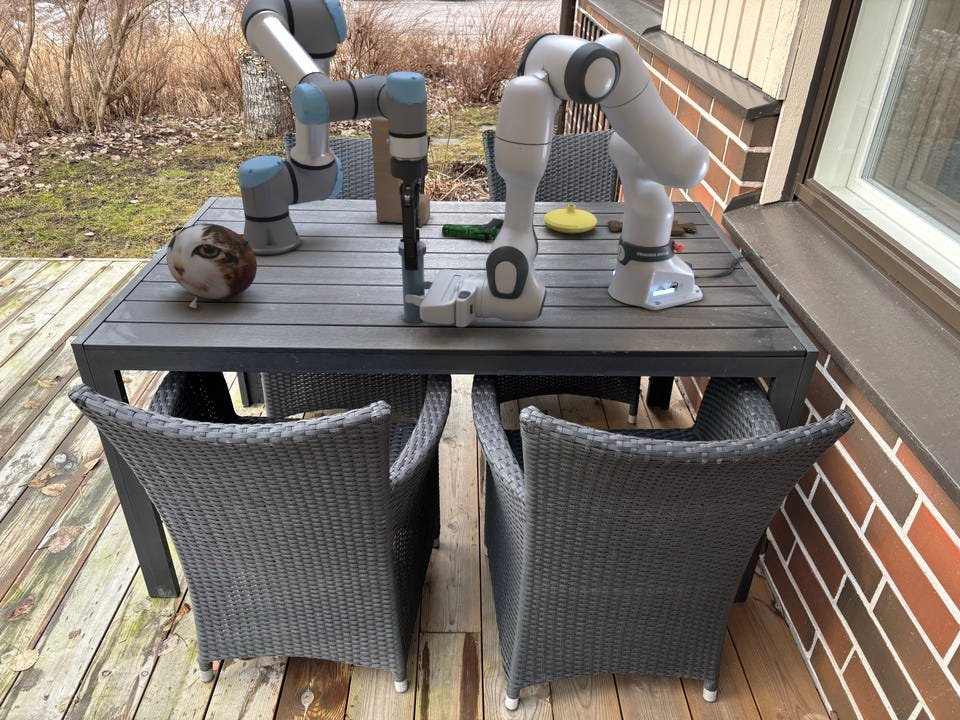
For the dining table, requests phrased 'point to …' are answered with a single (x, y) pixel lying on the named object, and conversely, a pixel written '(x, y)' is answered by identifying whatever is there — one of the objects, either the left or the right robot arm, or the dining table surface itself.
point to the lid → (420, 248)
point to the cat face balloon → (211, 261)
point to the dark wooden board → (676, 229)
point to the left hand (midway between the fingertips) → (412, 263)
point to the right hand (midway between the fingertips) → (409, 291)
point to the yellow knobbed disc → (570, 220)
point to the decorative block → (389, 179)
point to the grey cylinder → (413, 289)
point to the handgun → (475, 230)
